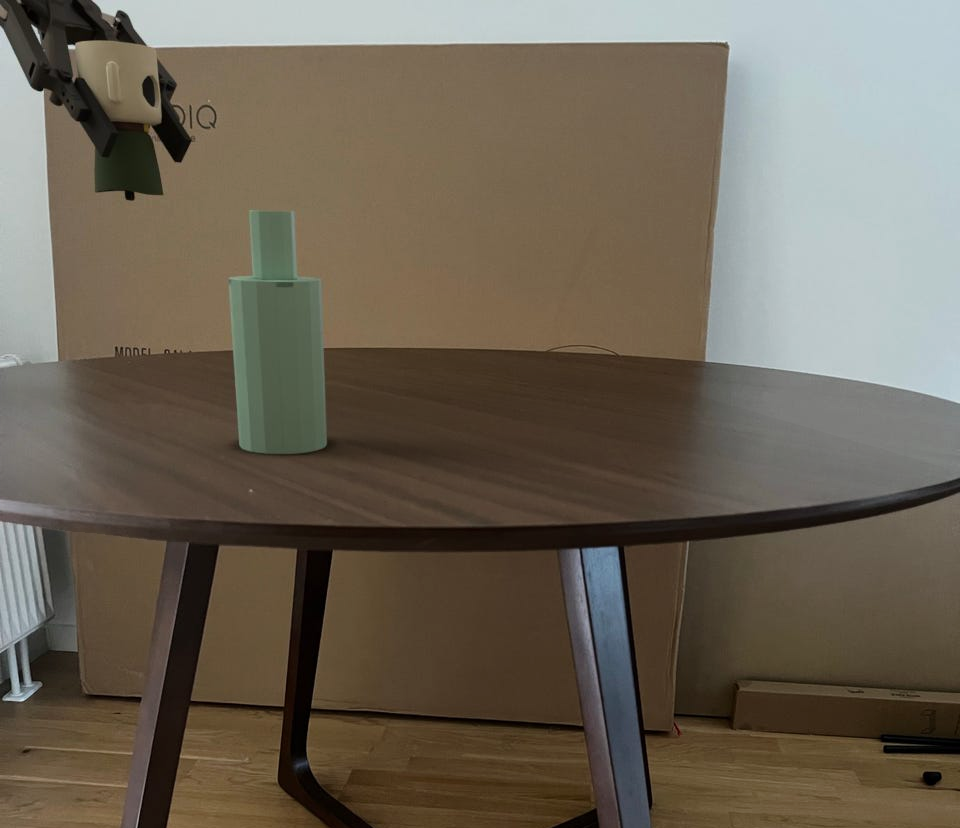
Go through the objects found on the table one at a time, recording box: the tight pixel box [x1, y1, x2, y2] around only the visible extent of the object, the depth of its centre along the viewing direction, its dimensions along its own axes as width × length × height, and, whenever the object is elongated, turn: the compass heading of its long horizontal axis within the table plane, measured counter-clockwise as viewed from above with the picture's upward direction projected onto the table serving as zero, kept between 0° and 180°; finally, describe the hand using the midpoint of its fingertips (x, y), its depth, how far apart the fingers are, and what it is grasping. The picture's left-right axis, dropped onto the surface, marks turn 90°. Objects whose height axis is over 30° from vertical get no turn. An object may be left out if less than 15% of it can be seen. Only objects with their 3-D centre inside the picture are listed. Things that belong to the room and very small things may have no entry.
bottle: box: [227, 209, 328, 455], centre depth 84 cm, size 7×7×19 cm
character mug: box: [74, 41, 164, 202], centre depth 96 cm, size 11×7×13 cm, turn 12°
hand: (147, 148), depth 95 cm, fingers closed on character mug, 7 cm apart
